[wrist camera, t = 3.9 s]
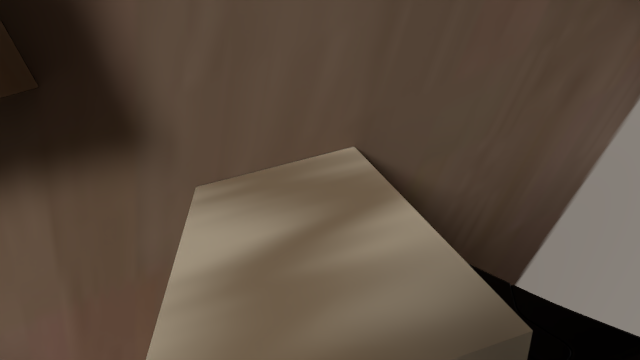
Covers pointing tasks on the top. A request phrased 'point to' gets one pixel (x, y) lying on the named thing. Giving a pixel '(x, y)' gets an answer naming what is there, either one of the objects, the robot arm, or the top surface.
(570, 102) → the top surface
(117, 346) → the top surface
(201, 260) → the birch block
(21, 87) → the brown wooden flat tray
